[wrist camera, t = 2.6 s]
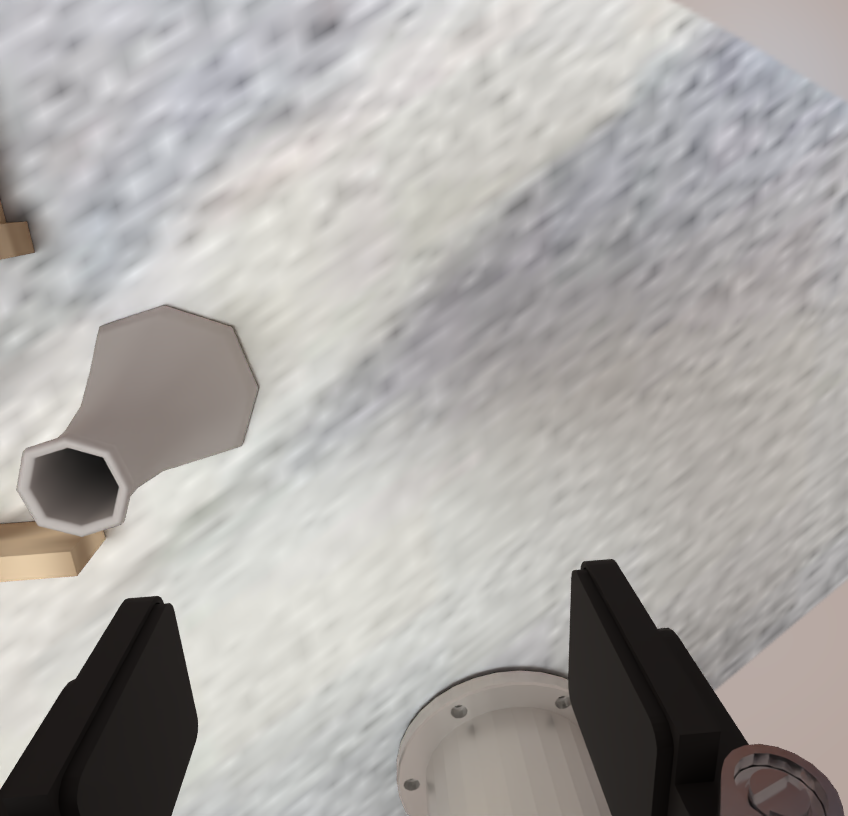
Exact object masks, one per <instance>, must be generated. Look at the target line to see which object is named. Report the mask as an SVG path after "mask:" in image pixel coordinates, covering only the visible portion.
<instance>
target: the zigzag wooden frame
mask: <svg viewBox="0 0 848 816" xmlns="http://www.w3.org/2000/svg"><path fill="white" fill-rule="evenodd" d="M30 253H35V252H34V248H33V244H32V240H31V236H30V232H29V228H28V224H27V222H9V223H6V220H5V216H4V212H3V208H2V204H1V200H0V260H1V259H6V258H10V257H15V256H20V255H25V254H30ZM104 540H105V535H104V531H103V530H102V531H99V532H96V533H93V534H90V535H87V536H84V537H80V536H76V535H72V534H68V533H64V532H60V531H56V530H52V529H48V528H44V527H40V526H38V525H37V523H36V522H35V521H34V522H21V523H7V524H0V582H6V581H19V580H32V579H45V578H58V577H70V576H78V574H79V573H80V572H81V570H82V569H83V568H84V566H85V565H86V564H87V563H88V561H89V560H90V559H91V557H92V556H93V555H94V553H95V552H96V551H97V550H98V548H99V547H100V546H101V544H102V543H103V542H104Z"/></svg>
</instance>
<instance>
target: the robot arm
mask: <svg viewBox="0 0 848 816" xmlns="http://www.w3.org/2000/svg"><path fill="white" fill-rule="evenodd" d="M197 733H198V718H197V713H196V708H195V704H194V699H193V694H192V690H191V685H190V681H189V676H188V672H187V667H186V662H185V658H184V653H183V649H182V644H181V639H180V635H179V630H178V626H177V621H176V616H175V612H174V608H173V606H172V604H170V603H167V604H164V603H163V600H162V599H161V597H159V596H152V597H140V598H128V599H125V600H124V601H123V603H122V604H121V606H120V607H119V609H118V611H117V612H116V614H115V616H114V617H113V619H112V620H111V622H110V624H109V625H108V627H107V629H106V630H105V632H104V633H103V635H102V637H101V638H100V640H99V642H98V643H97V645H96V647H95V648H94V650H93V651H92V653H91V655H90V656H89V658H88V660H87V661H86V663H85V665H84V666H83V668H82V669H81V671H80V673H79V674H78V676H77V678H76V679H74V680H72V681H70V682H69V683H68V684H67V685H66V686H65V688H64V689H63V690H62V692H61V693H60V695H59V697H58V698H57V700H56V701H55V703H54V705H53V706H52V708H51V709H50V711H49V713H48V714H47V716H46V717H45V719H44V721H43V722H42V724H41V725H40V727H39V729H38V730H37V732H36V733H35V735H34V737H33V738H32V740H31V741H30V743H29V745H28V746H27V748H26V749H25V751H24V753H23V754H22V756H21V757H20V759H19V761H18V762H17V764H16V765H15V767H14V769H13V770H12V772H11V773H10V775H9V777H8V778H7V780H6V781H5V783H4V785H3V786H2V788H1V789H0V816H171V815H172V812H173V809H174V806H175V803H176V800H177V797H178V794H179V791H180V788H181V785H182V782H183V779H184V776H185V773H186V770H187V767H188V764H189V761H190V758H191V755H192V751H193V748H194V745H195V742H196V739H197ZM397 785H398V792H399V797H400V800H401V802H402V804H403V807H404V809H405V811H406V813H407V814H408V815H409V816H844V811H843V806H842V803H841V800H840V798H839V795H838V792H837V791H836V789H835V788H834V787H833V785H832V784H831V782H830V781H829V780H828V778H827V777H826V776H825V775H824V774H823V773H822V772H820V771H819V770H818V769H817V768H816V767H815V766H814V765H813V764H811V763H810V762H808V761H806V760H805V759H803V758H801V757H800V756H798V755H796V754H795V753H792V752H789V751H787V750H784V749H781V748H779V747H775V746H769V745H763V744H754V745H749V744H748V743H747V741H746V740H745V739H744V736H743V735H742V733H741V732H740V730H739V729H738V727H737V726H736V724H735V723H734V721H733V720H732V718H731V717H730V715H729V714H728V712H727V711H726V709H725V707H724V706H723V704H722V703H721V702H720V700H719V698H718V697H717V695H716V694H715V692H714V691H713V689H712V688H711V686H710V685H709V683H708V681H707V680H706V678H705V677H704V675H703V674H702V672H701V671H700V669H699V668H698V666H697V665H696V663H695V662H694V660H693V659H692V657H691V655H690V654H689V652H688V651H687V649H686V648H685V646H684V645H683V643H682V642H681V640H680V639H679V637H678V636H677V635H676V633H675V632H674V631H673V630H671V629H669V628H661V629H657V627H656V626H655V624H654V623H653V621H652V619H651V618H650V616H649V614H648V613H647V611H646V610H645V608H644V606H643V605H642V603H641V602H640V600H639V598H638V597H637V595H636V593H635V592H634V590H633V589H632V587H631V585H630V584H629V582H628V581H627V579H626V577H625V576H624V574H623V572H622V571H621V569H620V568H619V566H618V564H617V563H616V562H615V560H613V559H607V560H595V561H584V562H583V563H582V565H581V570H573V571H572V577H571V607H570V640H569V673H568V680H567V679H565V678H563V677H559V676H555V675H551V674H547V673H543V672H532V671H509V672H498V673H493V674H489V675H485V676H481V677H477V678H473V679H471V680H469V681H466V682H464V683H461V684H459V685H456V686H454V687H452V688H451V689H449V690H448V691H446V692H444V693H443V694H441V695H439V696H438V697H436V698H435V699H434V700H433V701H432V702H430V703H429V704H428V705H427V706H426V707H425V708H424V709H422V710H421V711H420V712H419V714H418V715H417V716H416V718H415V719H414V720H413V721H412V723H411V724H410V725H409V727H408V729H407V731H406V733H405V735H404V737H403V739H402V741H401V743H400V748H399V752H398V756H397Z"/></svg>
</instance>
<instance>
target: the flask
mask: <svg viewBox="0 0 848 816" xmlns="http://www.w3.org/2000/svg"><path fill="white" fill-rule="evenodd" d="M257 391H258V386H257V384H256V382H255V379H254V377H253V375H252V372H251V370H250V367H249V365H248V363H247V360H246V358H245V356H244V353H243V351H242V349H241V346H240V344H239V342H238V339H237V337H236V335H235V332H234V330H233V328H232V327H231V326H227V325H224V324H221V323H218V322H215V321H212V320H209V319H205V318H202V317H199V316H196V315H193V314H190V313H187V312H183V311H180V310H177V309H174V308H171V307H168V306H165V305H163V306H160V307H157V308H154V309H151V310H148V311H145V312H142V313H139V314H136V315H133V316H130V317H127V318H124V319H121V320H118V321H115V322H112V323H109V324H106V325H103V326H100V327H99V331H98V335H97V339H96V344H95V349H94V354H93V359H92V364H91V369H90V374H89V377H88V381H87V385H86V388H85V392H84V396H83V400H82V403H81V407H80V408H79V410H78V411H77V413H76V415H75V416H74V418H73V419H72V421H71V422H70V424H69V426H68V427H67V429H66V430H65V432H64V433H63V434H61V435H60V436H59V437H58V438H56V439H53V440H50V441H47V442H44V443H41V444H38V445H35V446H31V447H28V448H26V449H25V450H24V451H23V453H22V459H21V465H20V471H19V477H18V483H17V488H16V490H17V492H18V493H19V495H20V497H21V498H22V500H23V502H24V503H25V505H26V507H27V508H28V510H29V512H30V513H31V515H32V517H33V518H34V520H35V522H36V523H37V525H38V526H40V527H44V528H48V529H52V530H56V531H60V532H64V533H68V534H72V535H76V536H80V537H84V536H87V535H90V534H93V533H96V532H99V531H102V530H106V529H109V528H112V527H115V526H118V525H121V524H122V523H123V522H124V521H125V517H126V513H127V509H128V504H129V500H130V496H131V495H132V494H133V493H134V492H135V490H136V489H137V488H138V487H140V486H141V485H143V484H144V483H146V482H147V481H149V480H150V479H152V478H153V477H155V476H156V475H158V474H159V473H161V472H162V471H165V470H168V469H171V468H175V467H178V466H181V465H184V464H188V463H191V462H194V461H197V460H200V459H203V458H206V457H209V456H213V455H216V454H219V453H222V452H225V451H228V450H231V449H234V448H237V447H240V446H242V444H243V441H244V437H245V434H246V430H247V427H248V423H249V420H250V416H251V412H252V409H253V405H254V402H255V398H256V395H257Z"/></svg>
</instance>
